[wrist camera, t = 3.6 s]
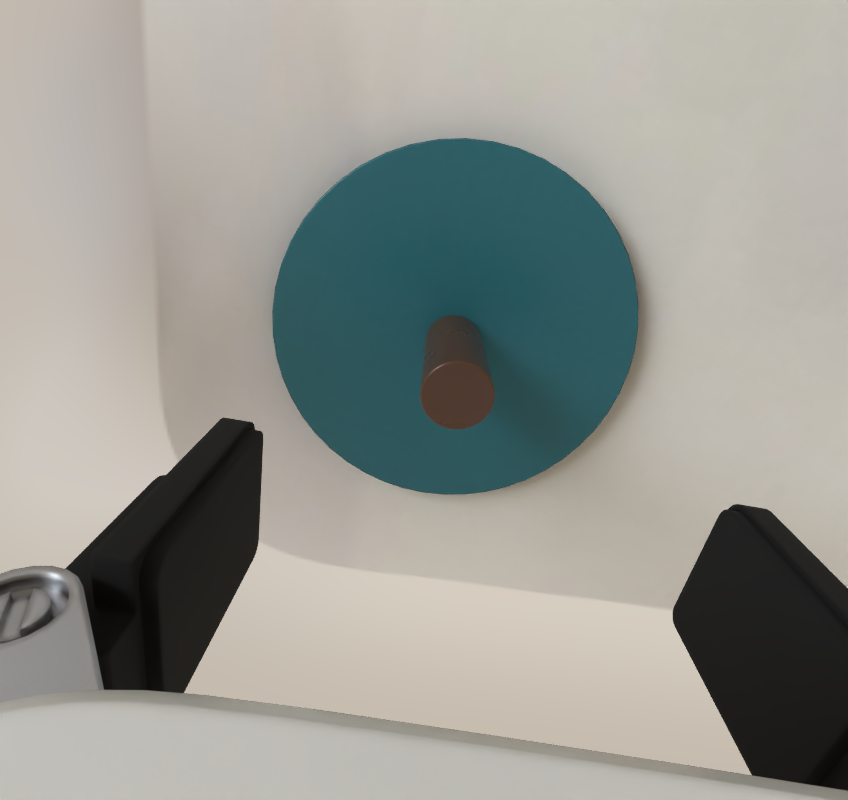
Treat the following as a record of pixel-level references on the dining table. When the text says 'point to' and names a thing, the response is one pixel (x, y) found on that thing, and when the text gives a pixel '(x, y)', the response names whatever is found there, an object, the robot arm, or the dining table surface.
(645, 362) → the dining table surface
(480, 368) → the lid
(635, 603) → the dining table surface
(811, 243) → the dining table surface
